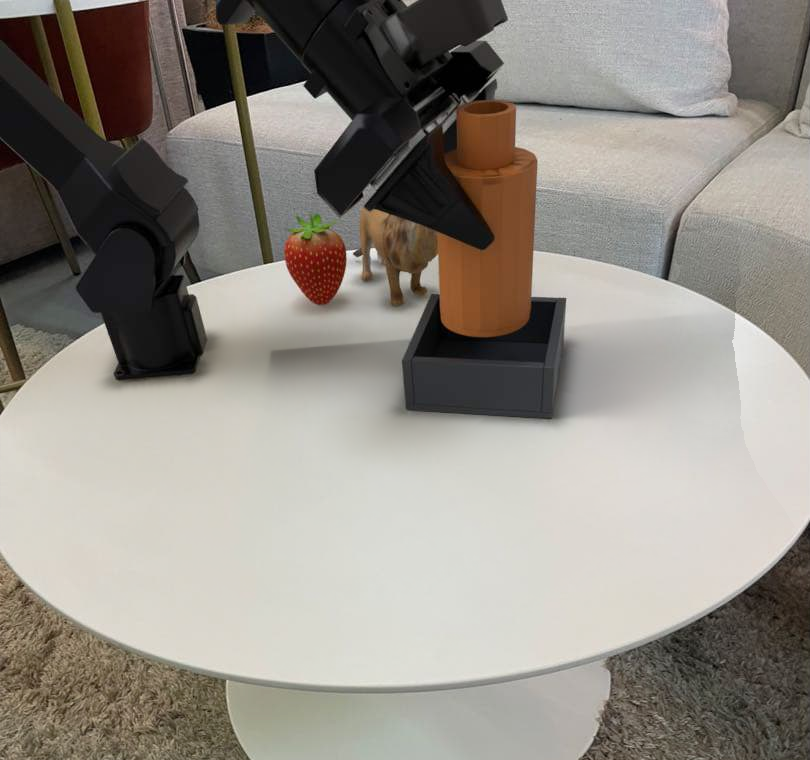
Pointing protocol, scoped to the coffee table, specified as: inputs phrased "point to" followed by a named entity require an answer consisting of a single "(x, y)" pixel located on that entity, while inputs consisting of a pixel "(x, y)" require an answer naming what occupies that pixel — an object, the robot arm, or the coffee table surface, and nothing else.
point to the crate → (486, 365)
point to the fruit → (316, 259)
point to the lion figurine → (396, 249)
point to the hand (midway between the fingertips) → (505, 225)
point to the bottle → (490, 225)
